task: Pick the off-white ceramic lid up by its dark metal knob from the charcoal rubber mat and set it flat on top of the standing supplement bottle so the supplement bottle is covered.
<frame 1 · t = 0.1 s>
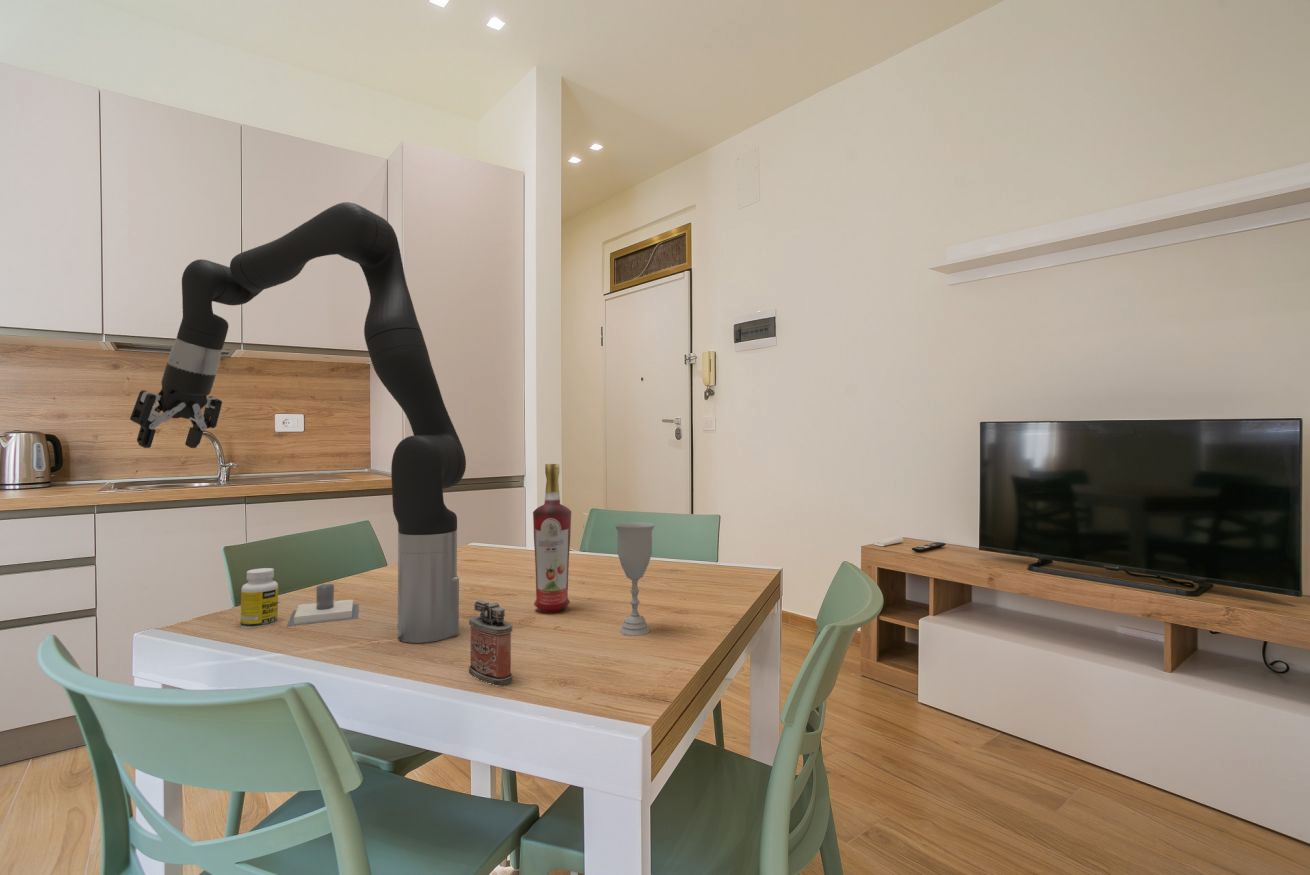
hand: (168, 446, 114), 31 cm above the table, tool tilted 20°, fingers open, 8 cm apart
chalice: (634, 631, 102), on the table
lighter: (490, 678, 81), on the table
lid: (325, 614, 110), point 1 cm above the table, touching mat
liquor: (552, 610, 115), on the table
supplement bottle: (259, 627, 104), on the table
mat: (325, 617, 110), on the table
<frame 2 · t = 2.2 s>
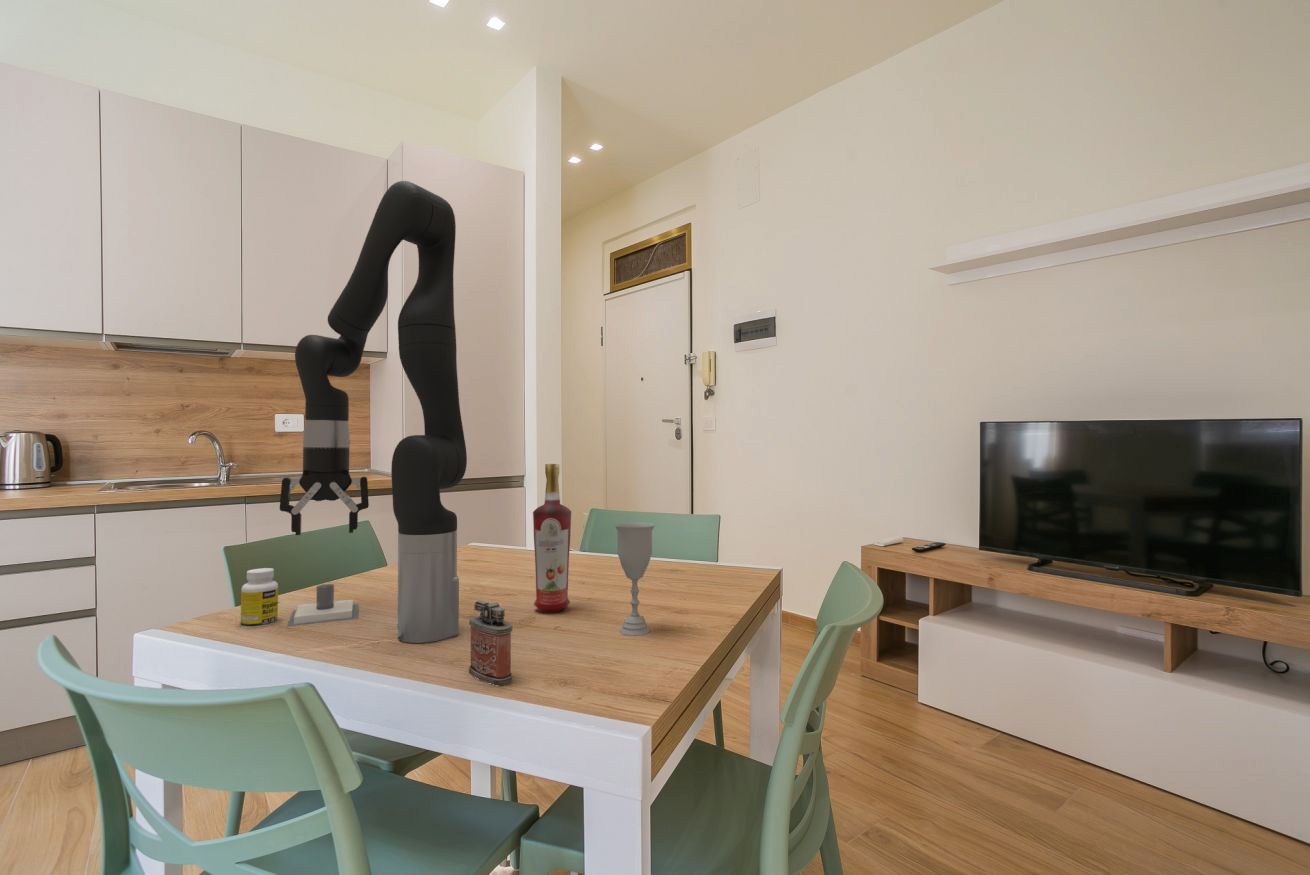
hand: (325, 533, 110), 15 cm above the table, tool pointing down, fingers open, 8 cm apart
nothing on the table moved.
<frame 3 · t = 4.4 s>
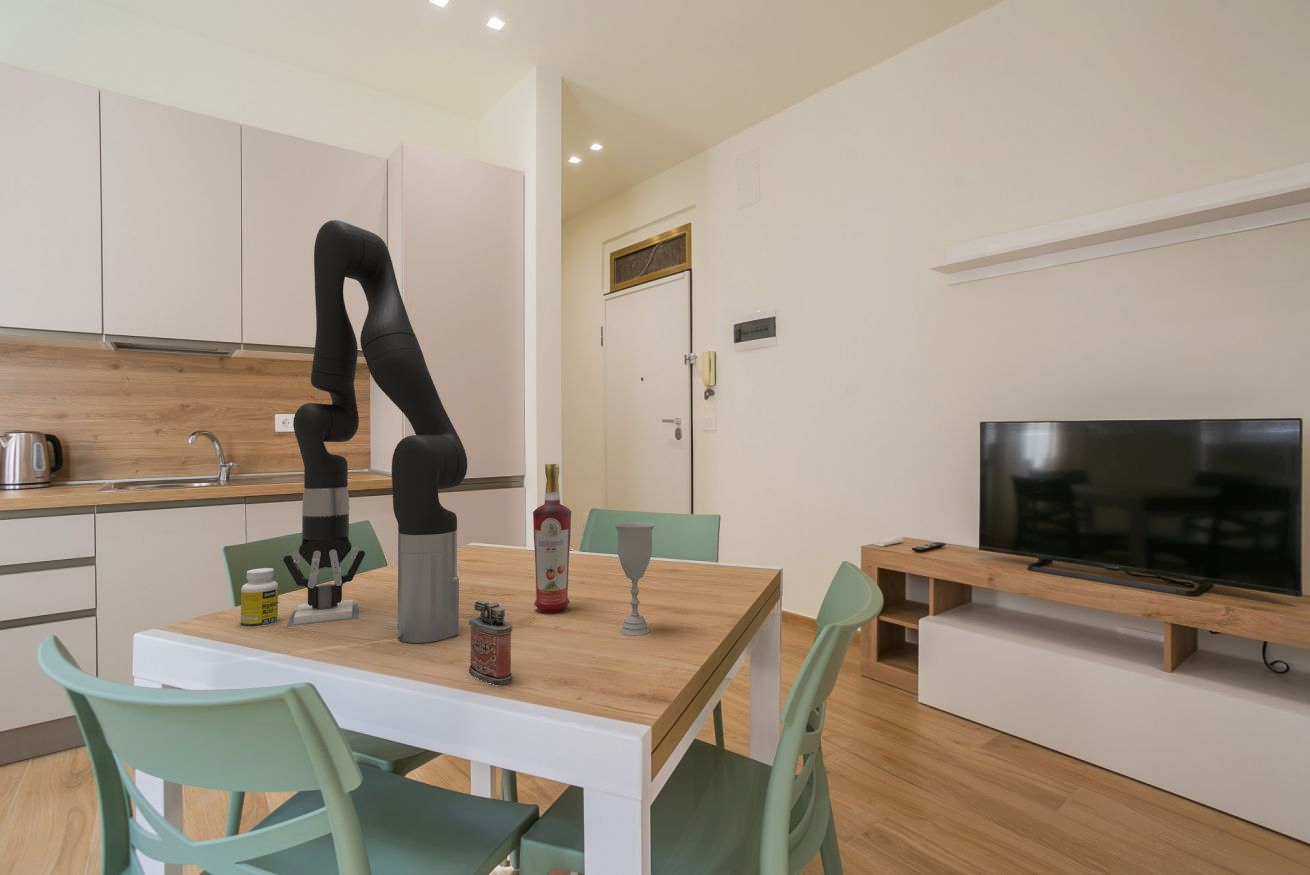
hand: (325, 606, 110), 2 cm above the table, tool pointing down, fingers closed on lid, 2 cm apart
lid: (325, 614, 110), point 1 cm above the table, touching gripper, mat
everything else where it was.
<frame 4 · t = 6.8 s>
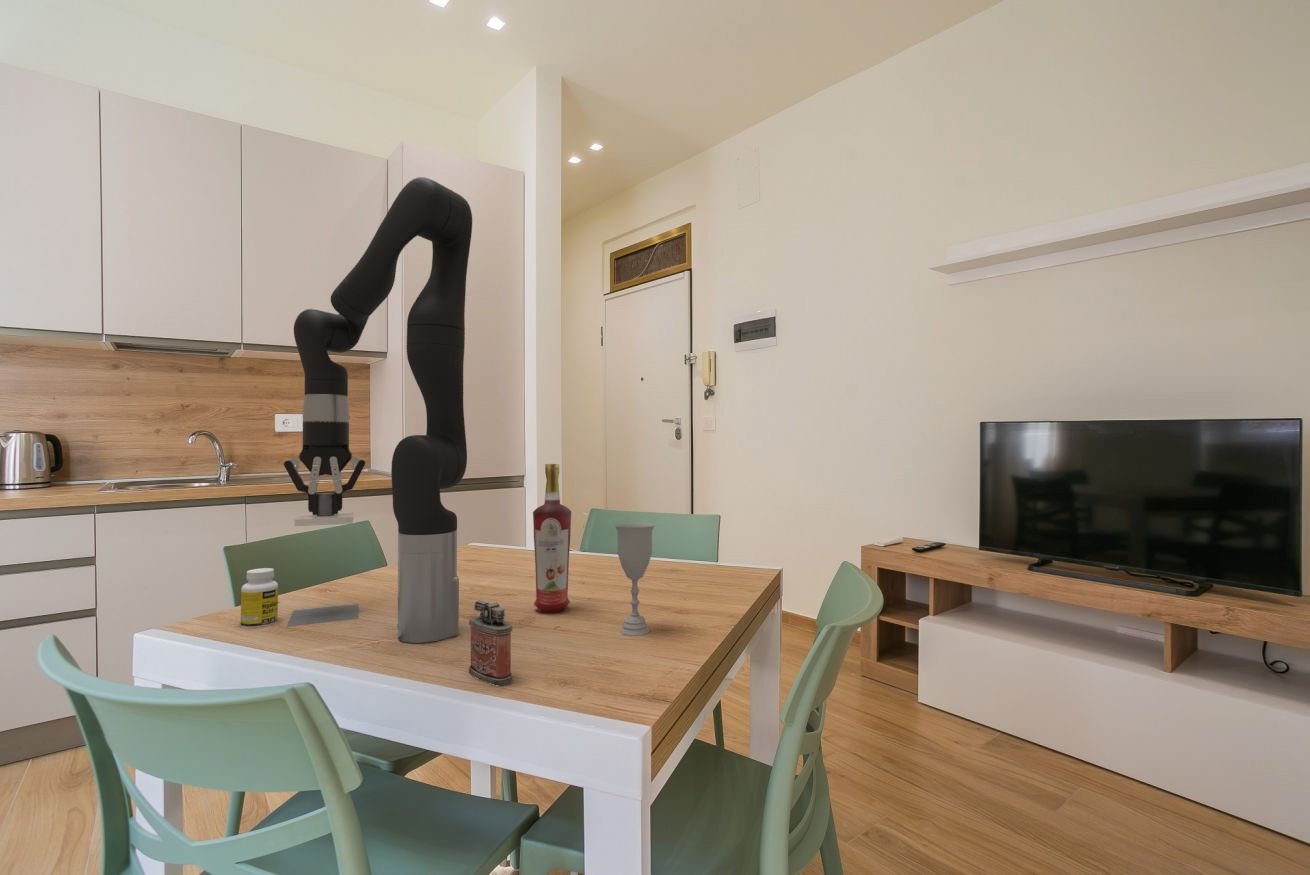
hand: (325, 513, 110), 19 cm above the table, tool pointing down, fingers closed on lid, 2 cm apart
lid: (325, 522, 110), point 18 cm above the table, touching gripper
everything else where it was.
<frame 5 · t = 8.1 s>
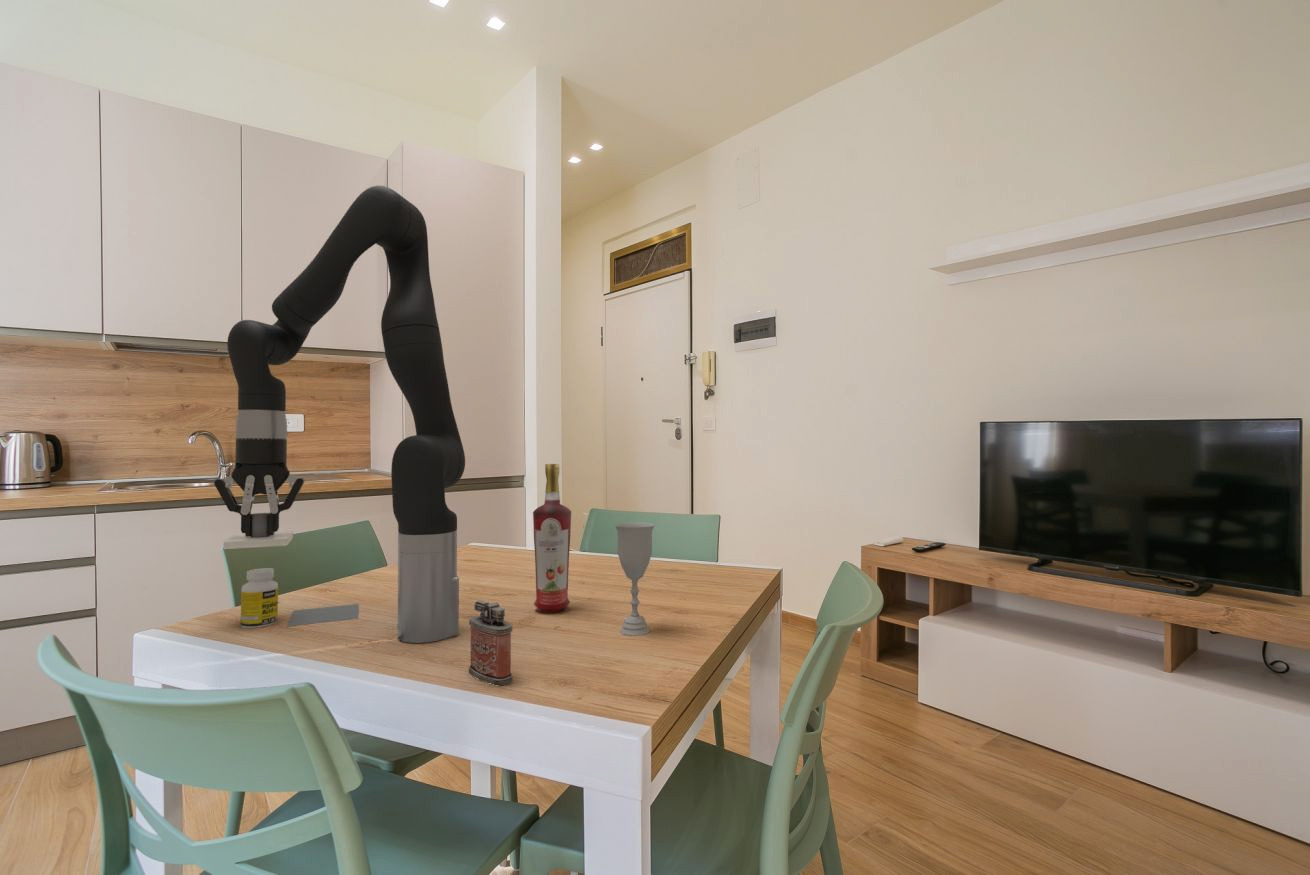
hand: (260, 534, 105), 16 cm above the table, tool pointing down, fingers closed on lid, 2 cm apart
lid: (260, 543, 105), point 14 cm above the table, touching gripper
everything else where it was.
when the fingers open (13 cm above the table, at t = 9.2 s): lid drops 2 cm, resting on supplement bottle.
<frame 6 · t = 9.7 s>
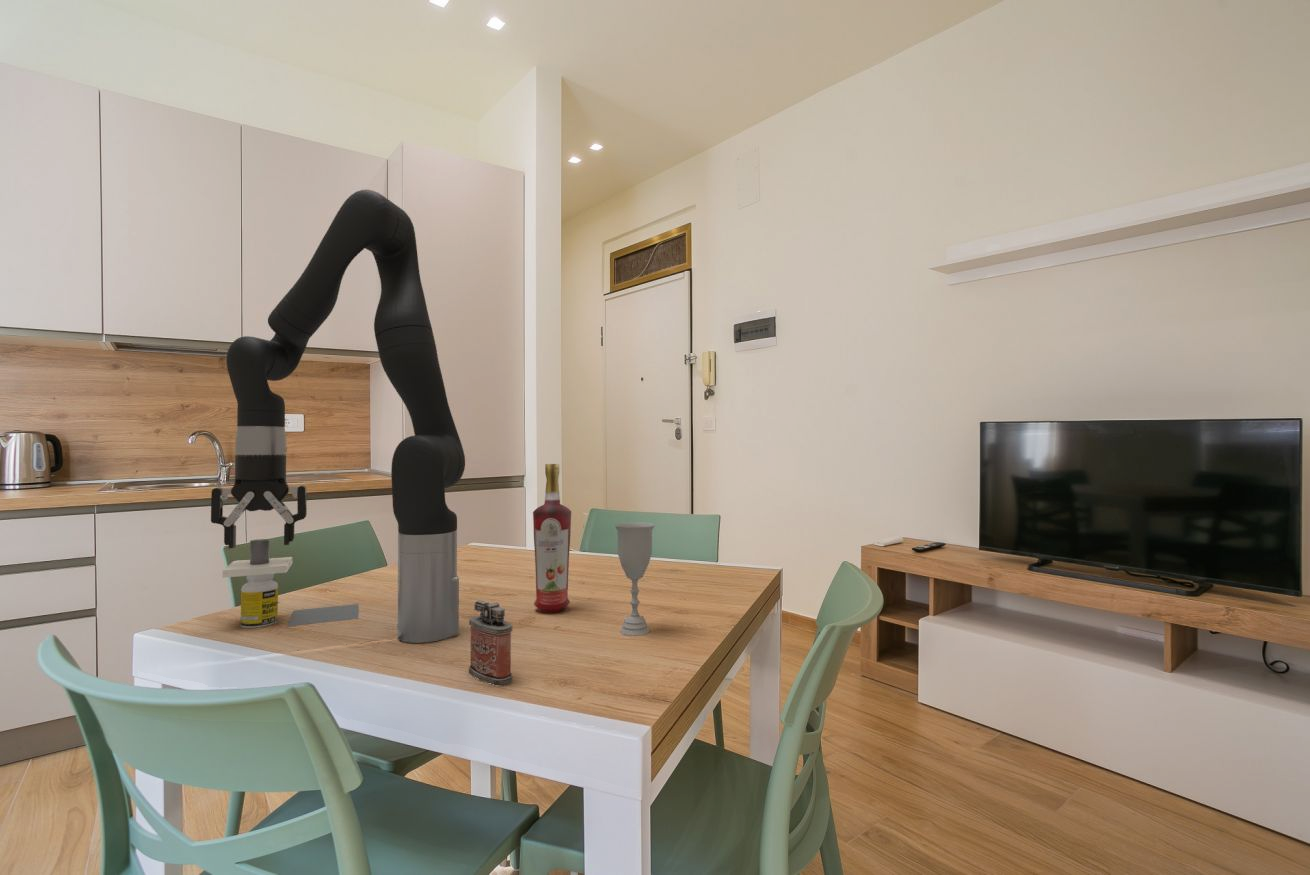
hand: (260, 546, 105), 14 cm above the table, tool pointing down, fingers open, 7 cm apart
lid: (259, 570, 105), point 10 cm above the table, touching supplement bottle
supplement bottle: (259, 627, 104), on the table, touching lid
everything else where it was.
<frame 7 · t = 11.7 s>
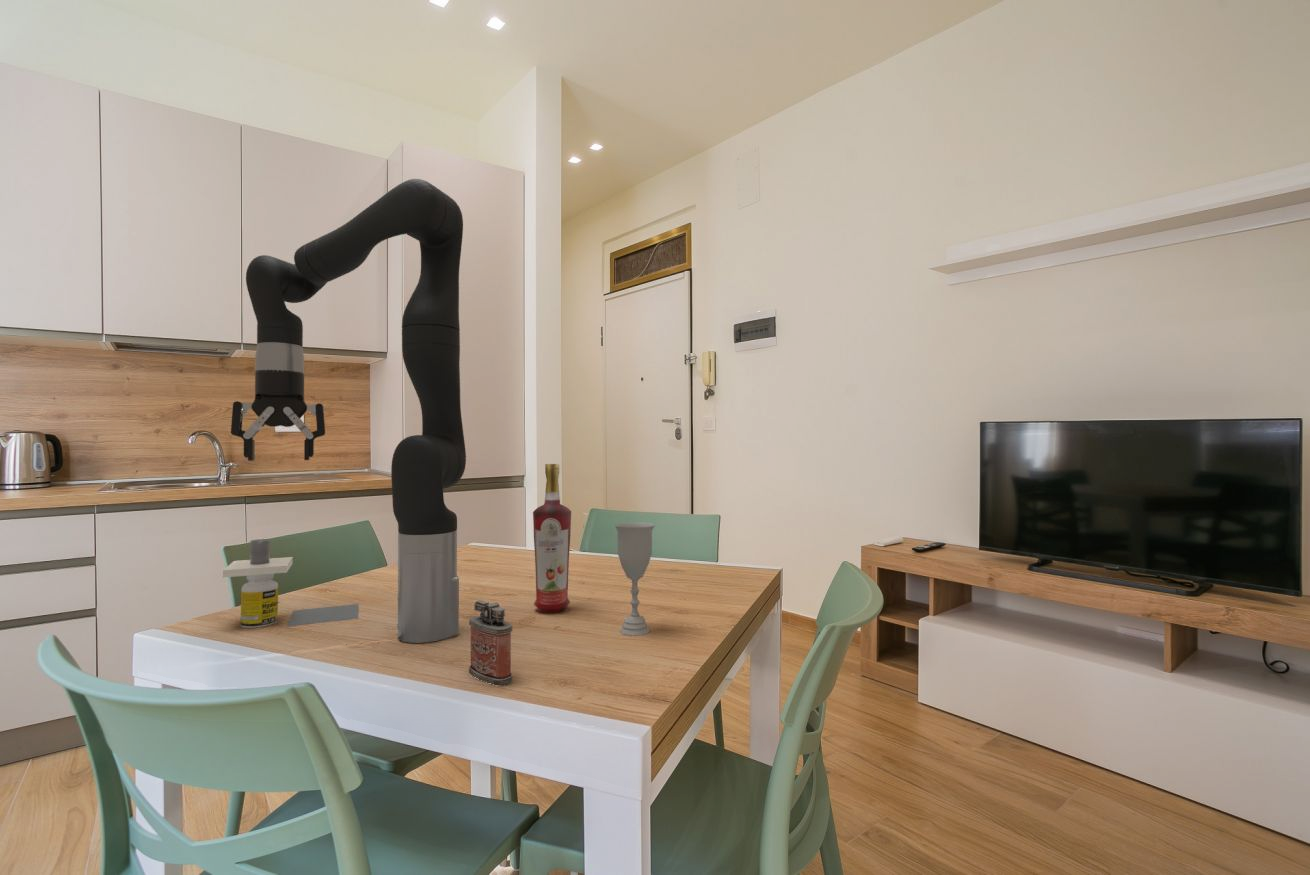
hand: (279, 460, 108), 29 cm above the table, tool pointing down, fingers open, 8 cm apart
nothing on the table moved.
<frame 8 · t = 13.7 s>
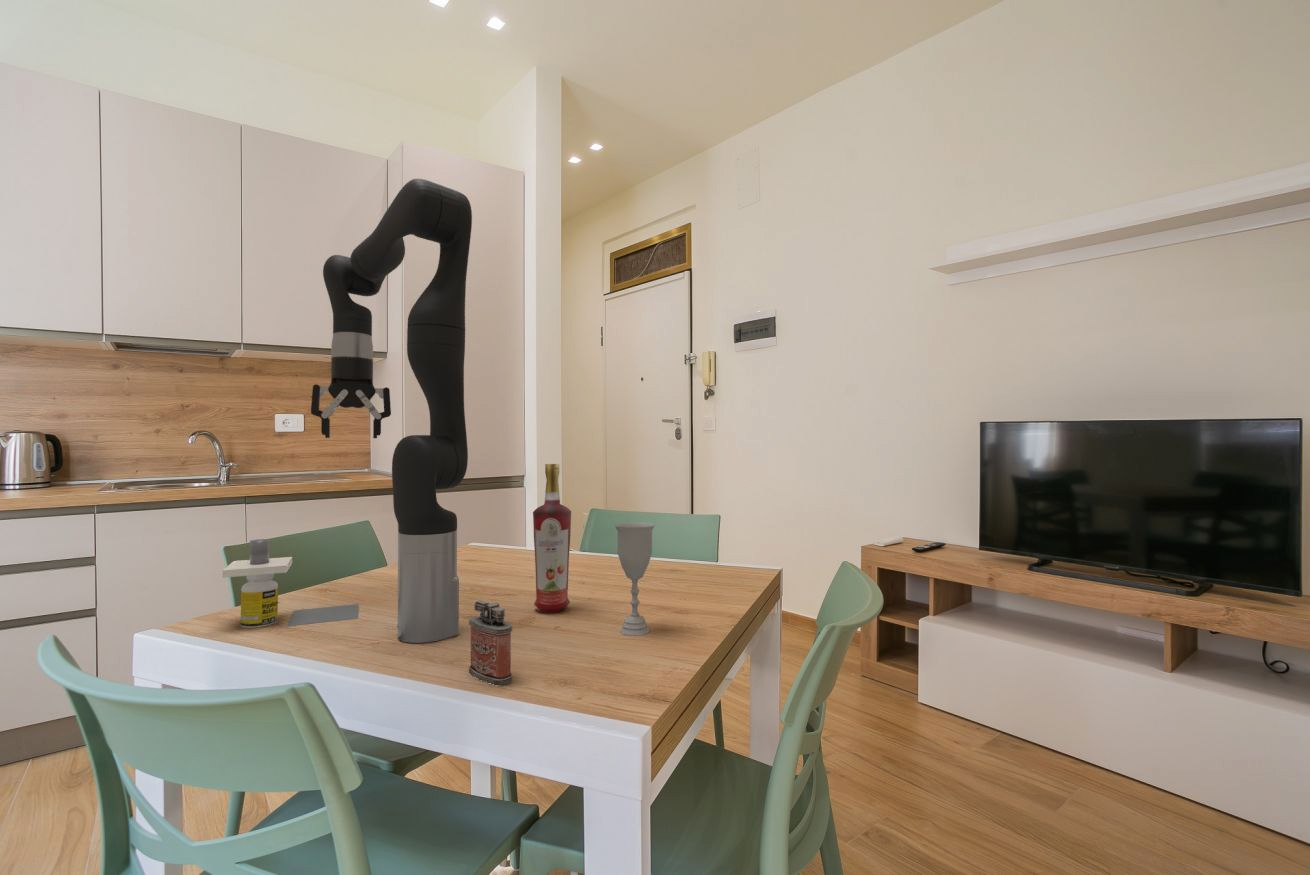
hand: (351, 438, 120), 33 cm above the table, tool pointing down, fingers open, 8 cm apart
nothing on the table moved.
at the end: lid 0.0 cm off-centre on the supplement bottle, point 10.0 cm above the supplement bottle's base; supplement bottle tilted 0°; the gripper is holding nothing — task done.
